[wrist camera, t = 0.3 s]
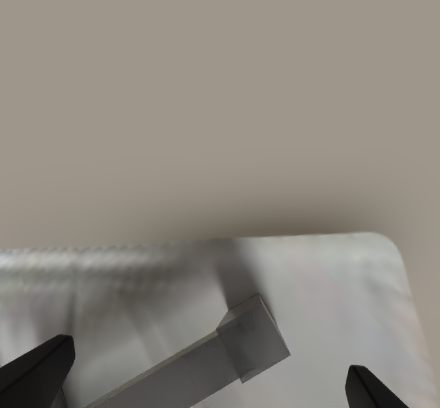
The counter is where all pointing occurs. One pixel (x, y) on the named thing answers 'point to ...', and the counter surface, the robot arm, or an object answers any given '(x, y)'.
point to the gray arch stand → (204, 363)
